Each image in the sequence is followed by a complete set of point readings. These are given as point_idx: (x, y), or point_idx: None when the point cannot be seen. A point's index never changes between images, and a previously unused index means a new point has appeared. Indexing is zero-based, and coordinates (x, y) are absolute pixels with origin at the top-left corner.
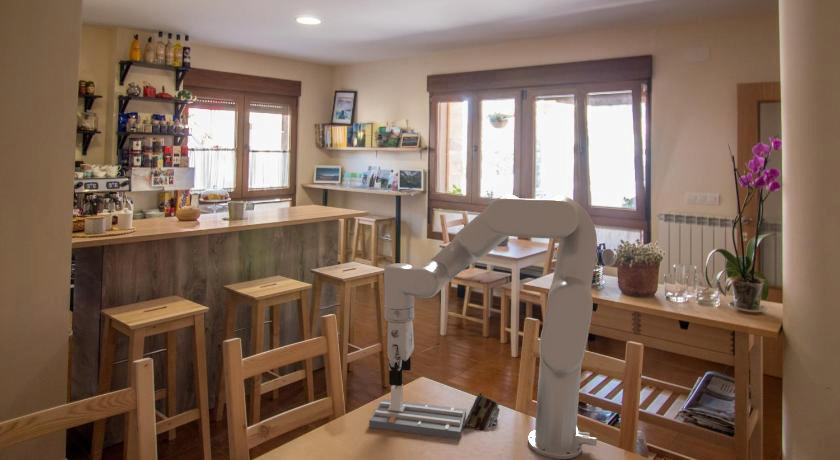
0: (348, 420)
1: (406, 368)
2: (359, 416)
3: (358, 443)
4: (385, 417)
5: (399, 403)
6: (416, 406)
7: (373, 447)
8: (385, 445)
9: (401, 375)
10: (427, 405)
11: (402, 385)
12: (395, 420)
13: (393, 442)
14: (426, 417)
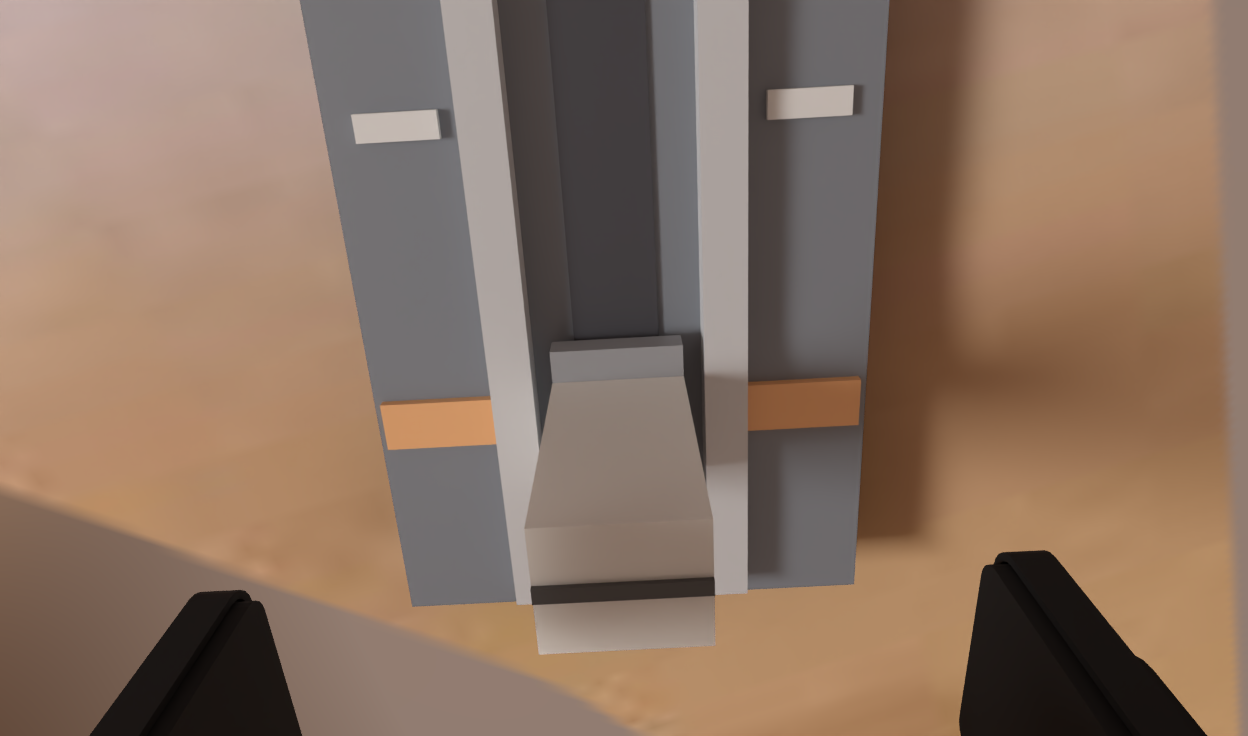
0: (757, 708)
1: (259, 674)
2: (671, 661)
3: (1095, 538)
4: (768, 473)
5: (690, 422)
6: (487, 232)
7: (1147, 415)
8: (1106, 333)
9: (1185, 719)
10: (361, 115)
11: (574, 526)
12: (806, 368)
13: (1048, 281)
14: (724, 34)
